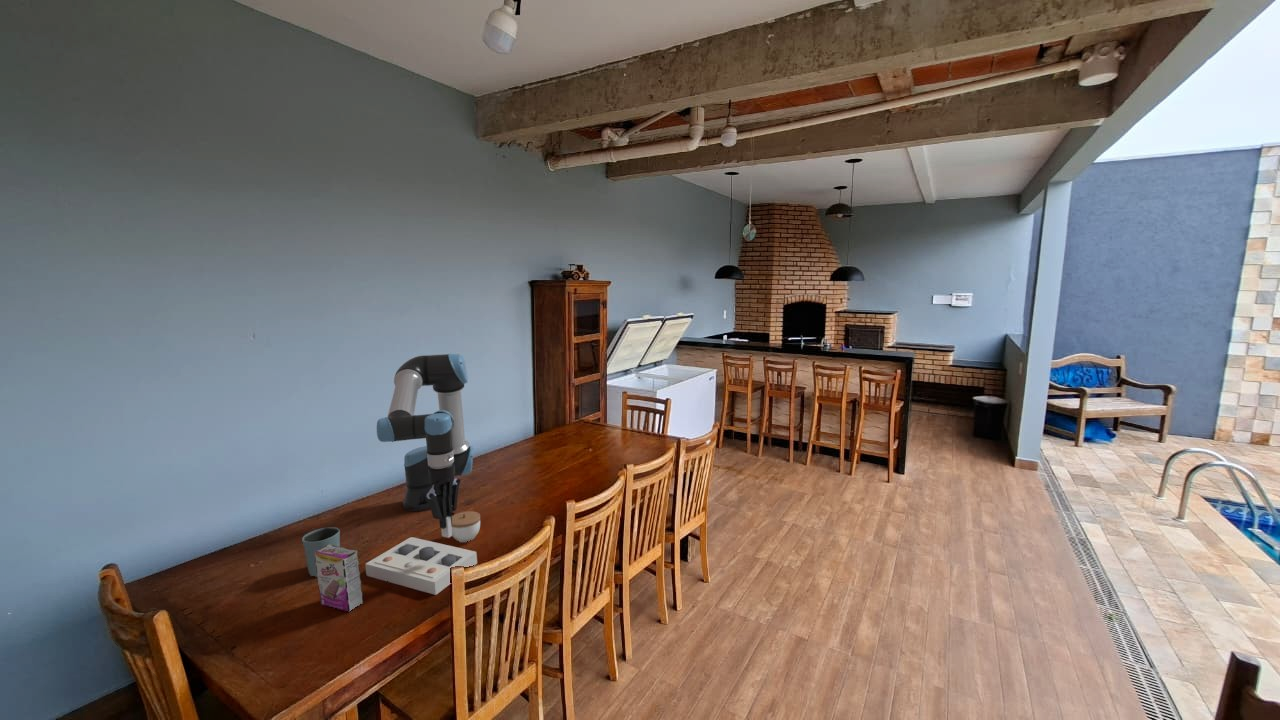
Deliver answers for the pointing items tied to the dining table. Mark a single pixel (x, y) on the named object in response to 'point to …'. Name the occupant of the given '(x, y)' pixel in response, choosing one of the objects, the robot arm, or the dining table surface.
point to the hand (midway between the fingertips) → (447, 535)
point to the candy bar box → (339, 577)
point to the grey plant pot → (319, 544)
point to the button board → (419, 566)
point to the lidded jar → (465, 526)
